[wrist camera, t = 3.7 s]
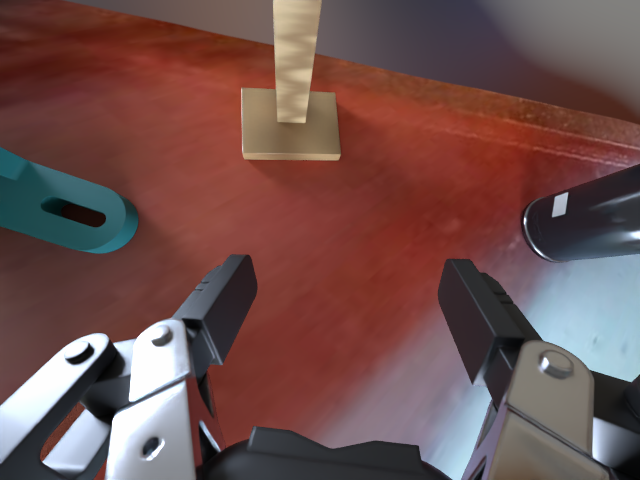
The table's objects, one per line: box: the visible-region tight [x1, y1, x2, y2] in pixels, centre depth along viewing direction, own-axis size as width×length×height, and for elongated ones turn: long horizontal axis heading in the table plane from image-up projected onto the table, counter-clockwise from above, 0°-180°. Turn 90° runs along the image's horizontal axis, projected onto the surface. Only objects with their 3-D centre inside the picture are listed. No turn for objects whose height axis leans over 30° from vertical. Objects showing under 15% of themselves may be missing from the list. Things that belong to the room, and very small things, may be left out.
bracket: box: [0, 147, 138, 253], centre depth 22 cm, size 18×7×8 cm, turn 72°
